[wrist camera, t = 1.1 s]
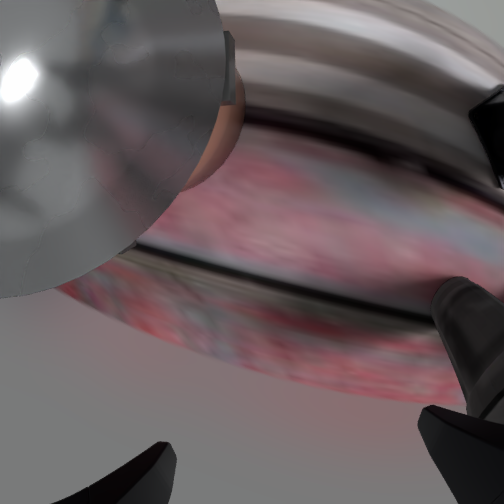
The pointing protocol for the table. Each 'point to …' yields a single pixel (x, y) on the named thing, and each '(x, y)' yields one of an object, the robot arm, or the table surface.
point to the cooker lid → (98, 126)
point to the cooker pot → (221, 124)
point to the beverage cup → (473, 344)
